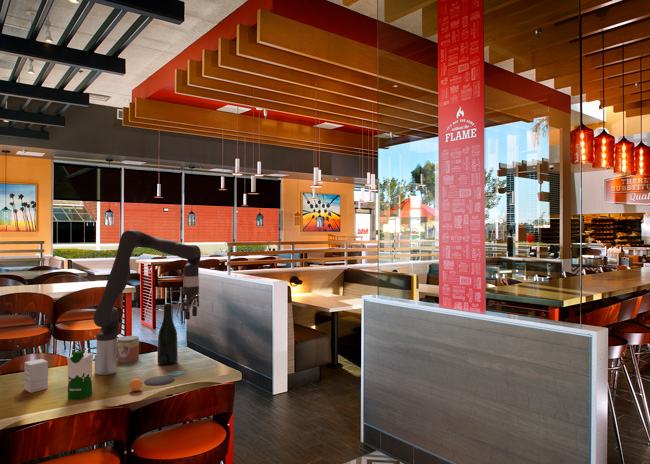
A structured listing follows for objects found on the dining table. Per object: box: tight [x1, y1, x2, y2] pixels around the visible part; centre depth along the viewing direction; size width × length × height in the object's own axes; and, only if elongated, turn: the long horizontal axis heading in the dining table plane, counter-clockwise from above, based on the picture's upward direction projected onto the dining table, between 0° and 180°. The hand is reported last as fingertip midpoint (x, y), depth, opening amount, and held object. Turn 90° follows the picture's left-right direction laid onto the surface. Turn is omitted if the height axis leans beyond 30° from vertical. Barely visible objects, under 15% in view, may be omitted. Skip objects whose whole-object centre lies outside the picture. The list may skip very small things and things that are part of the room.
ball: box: [128, 377, 143, 392], centre depth 205 cm, size 6×6×6 cm
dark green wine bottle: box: [157, 302, 179, 366], centre depth 248 cm, size 10×10×33 cm
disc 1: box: [143, 375, 176, 387], centre depth 219 cm, size 14×14×1 cm
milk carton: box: [66, 350, 94, 400], centre depth 197 cm, size 9×9×20 cm
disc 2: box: [167, 370, 185, 377], centre depth 230 cm, size 8×8×1 cm
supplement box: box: [24, 358, 49, 394], centre depth 207 cm, size 7×7×13 cm
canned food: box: [117, 335, 140, 363], centre depth 256 cm, size 11×11×12 cm
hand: (191, 317), depth 226 cm, fingers open, 8 cm apart
